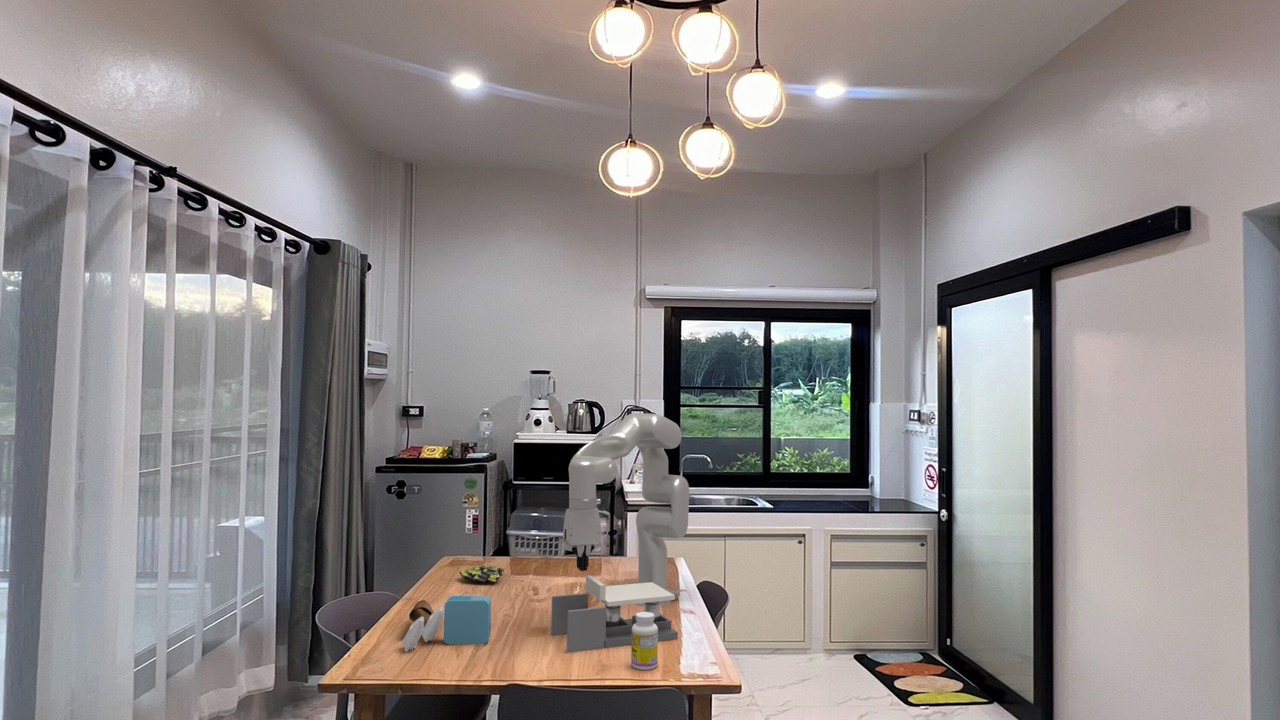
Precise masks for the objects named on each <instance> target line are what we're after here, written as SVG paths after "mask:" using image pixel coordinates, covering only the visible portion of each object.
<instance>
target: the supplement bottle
mask: <svg viewBox="0 0 1280 720" xmlns="http://www.w3.org/2000/svg"><path fill="white" fill-rule="evenodd" d="M635 616H636V621H637V623H635V624H634V625H633V626H632V645H630V646H631V653H630V655H631V656H630V657H631V659H630V663H631V667H632V668H634V669H636V670H640V671H650V670H653V669H656V668H657V666H658V661H659V660H658V653H659V652H658V651H659V649H658V647H659V642H658V627H657V625H656V624H654V623H653V621H654V614H653V613H651V612H644V611H640V612H636V613H635Z"/></svg>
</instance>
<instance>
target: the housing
mask: <svg viewBox="0 0 1280 720" xmlns="http://www.w3.org/2000/svg"><path fill="white" fill-rule="evenodd" d="M550 618H551V626H550V628H551V629H550V635H551V637H555V636H556V637H557V636H562V635H563V636H564V635H566V638H567V639H566V653H568V654H569V653H570V654H571V653H578V652H586V651H587V652H588V651H593V650H602V649H611V648H618V647H619V648H620V647H626V646H627V647H628V646H632V626H633V625H634V624H635V623H637V621H636V615H631V618H628V619H624V618H623V617H621V616H620V626H616V627H607V628H606V607H605V606H600V607H590V608H589V594H588V593H587V592H586V593H577V594H576V593H575V594H566V595H555V596H554V595H553V596H551V617H550ZM653 623H654V624H656V625H657V627H658V643H659V642H667V641H675V640H679V639H678V636H679V634H678V633H679V632H678V631H677V630H675V629H674V628H673V627H672V620H670V619H669V618H668V617H666V616H665V615H662V613H660V622H653Z"/></svg>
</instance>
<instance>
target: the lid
mask: <svg viewBox="0 0 1280 720" xmlns="http://www.w3.org/2000/svg"><path fill="white" fill-rule="evenodd" d="M585 591H587V592H588V593H589V594H590V595H592V596H593V597H594V598H595V599H597V600H598V601H600V602H601V603H602V604H604V606H605V605H607V606H618V605H621V606H627V605H637V604H638V603H648V602H657V601H667V600H671V601H674V600H675V599H676V596H675V595H673V594H672V593H670V592H668V591H666V590H665V589H663V588H661V587H659V586H658V585H656V584H654V583H652V582H648V583H638V582H637V583H629V584H628V583H627V584H619V585H618V584H617V585H616V584H615V585H606V584H605V583H603V582H602V581H600V580H599V579H597V578H596V577H594V576H593V575H586V576H585Z"/></svg>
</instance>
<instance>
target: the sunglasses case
mask: <svg viewBox="0 0 1280 720" xmlns="http://www.w3.org/2000/svg"><path fill="white" fill-rule="evenodd" d="M433 612H434V610H433V607H432V606H431V605H430V603H428V601H427V600H420V601H419V600H418V601H417V602H416V603H415V604H414V606H413V607H412V609H411V610H410V612H409V616H408V617H409V621H411V622H412V623H414V622H415V621H416V620H417V619H419V618H420V617H424V627H425V625H426V623H427V621H428V620H429V618H430V616H431V614H432V613H433Z"/></svg>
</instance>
